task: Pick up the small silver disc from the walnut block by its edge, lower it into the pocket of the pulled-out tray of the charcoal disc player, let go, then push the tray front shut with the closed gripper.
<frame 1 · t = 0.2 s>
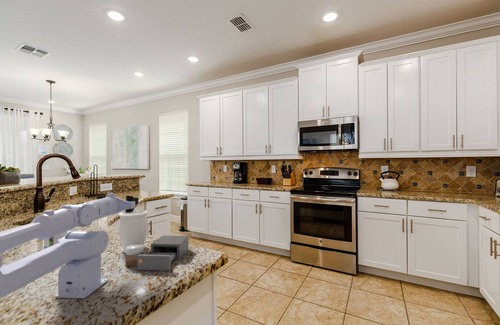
hand: (127, 200, 84), 21 cm above the worktop, tool horizontal, fingers open, 7 cm apart
jar: (133, 250, 94), on the worktop
walnut block: (134, 263, 80), on the worktop
tray: (160, 257, 80), point 2 cm above the worktop, slide at 7.5 cm
disc: (134, 252, 80), point 4 cm above the worktop, touching walnut block
syrup box: (55, 249, 94), on the worktop
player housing: (170, 254, 89), on the worktop
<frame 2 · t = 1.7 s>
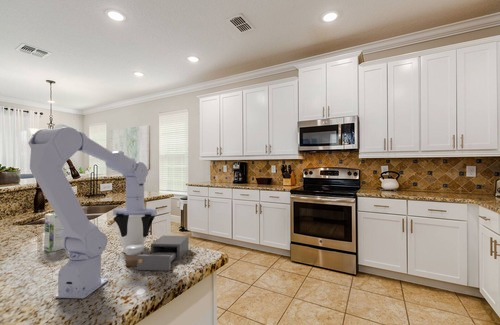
hand: (134, 236, 80), 9 cm above the worktop, tool pointing down, fingers open, 7 cm apart
nothing on the worktop moved.
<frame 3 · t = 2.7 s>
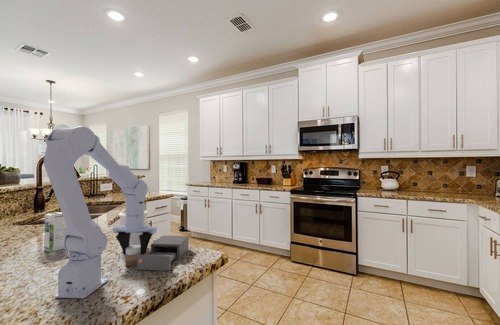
hand: (134, 253, 80), 3 cm above the worktop, tool pointing down, fingers closed on disc, 6 cm apart
disc: (134, 251, 80), point 4 cm above the worktop, touching gripper, walnut block
everything else where it was.
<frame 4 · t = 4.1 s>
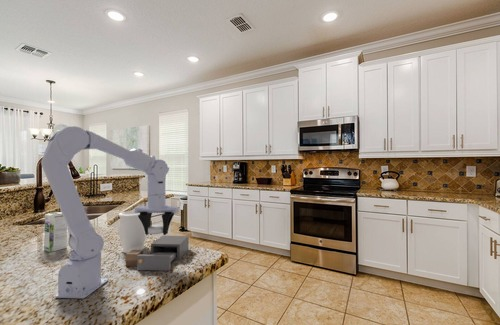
hand: (156, 233, 80), 10 cm above the worktop, tool pointing down, fingers closed on disc, 6 cm apart
disc: (156, 231, 80), point 11 cm above the worktop, touching gripper
everything else where it was.
when the fingers open (3 cm above the worktop, at t = 5.6 s): disc drops 2 cm, resting on tray.
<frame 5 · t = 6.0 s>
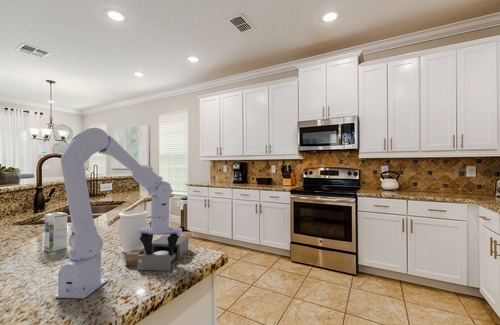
hand: (160, 255, 80), 3 cm above the worktop, tool pointing down, fingers open, 7 cm apart
tray: (160, 257, 80), point 2 cm above the worktop, slide at 7.5 cm, touching disc
disc: (160, 259, 80), point 2 cm above the worktop, touching tray
everything else where it was.
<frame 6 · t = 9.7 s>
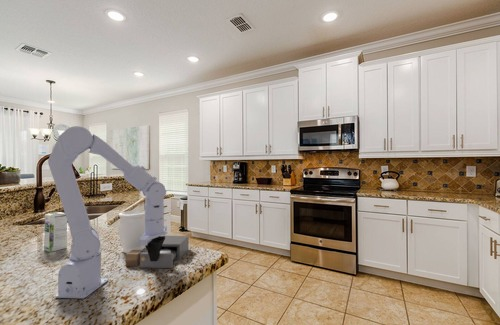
hand: (154, 260, 75), 3 cm above the worktop, tool pointing down, fingers closed
tray: (162, 255, 81), point 2 cm above the worktop, slide at 5.7 cm, touching disc, gripper
disc: (162, 257, 81), point 2 cm above the worktop, touching tray
everything else where it was.
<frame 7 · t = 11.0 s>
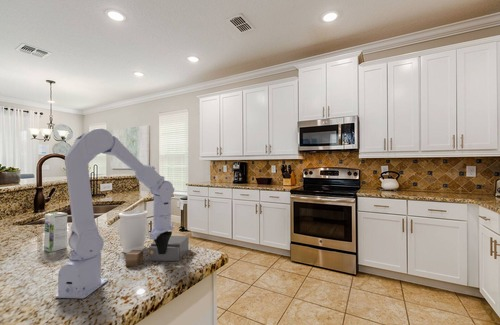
hand: (162, 253, 81), 3 cm above the worktop, tool pointing down, fingers closed
tray: (169, 249, 87), point 2 cm above the worktop, slide at 0.0 cm, touching disc, gripper
disc: (169, 251, 87), point 2 cm above the worktop, touching tray
everything else where it was.
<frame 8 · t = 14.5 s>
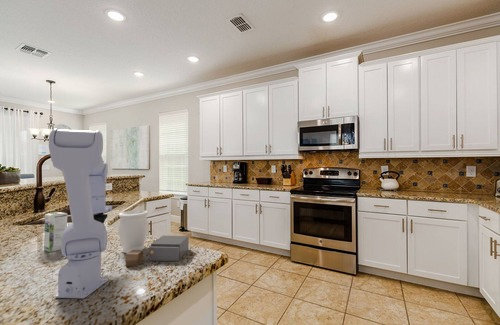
hand: (95, 236, 78), 10 cm above the worktop, tool pointing down, fingers closed
tray: (168, 249, 87), point 2 cm above the worktop, slide at 0.0 cm, touching disc
everything else where it was.
at the end: tray slide at 0.0 cm; disc inside the target area on the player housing (1.6 cm from its centre), point 1.7 cm above the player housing's base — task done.
